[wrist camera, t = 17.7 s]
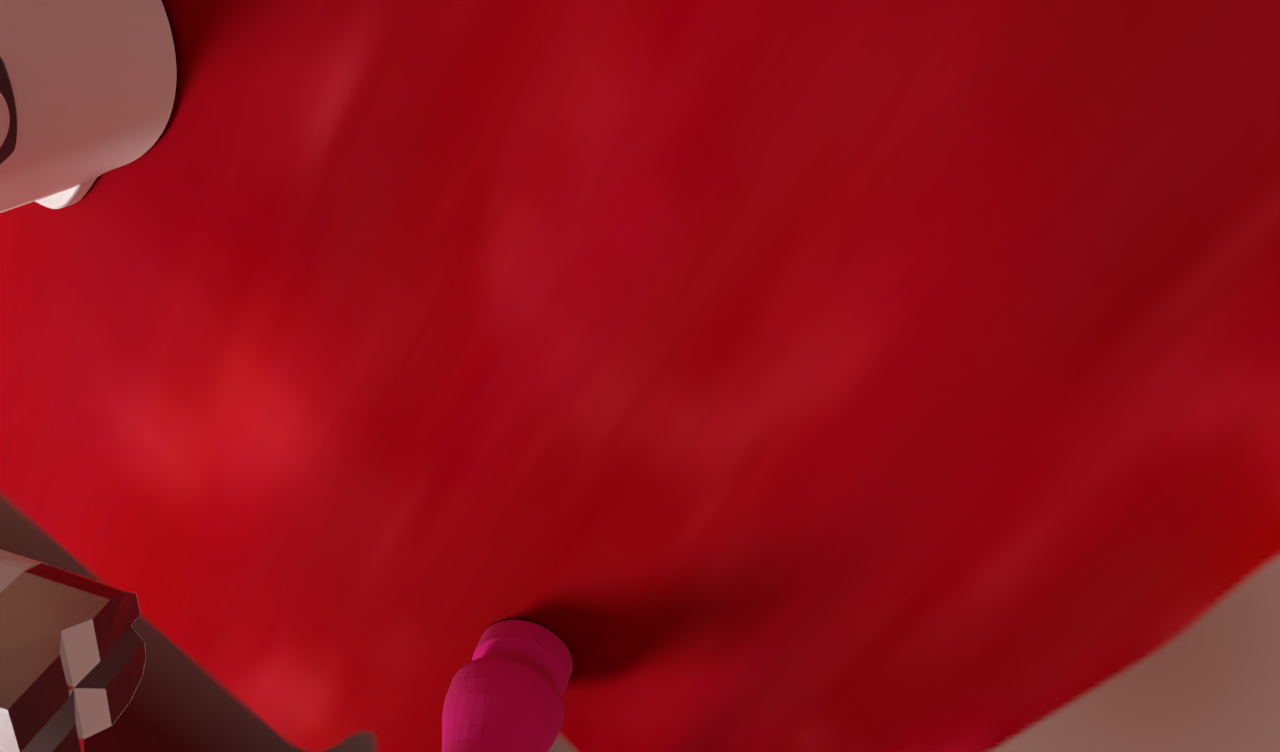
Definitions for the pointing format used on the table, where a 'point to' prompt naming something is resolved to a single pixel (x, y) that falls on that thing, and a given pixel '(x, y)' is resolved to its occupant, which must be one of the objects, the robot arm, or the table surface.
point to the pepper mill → (508, 692)
